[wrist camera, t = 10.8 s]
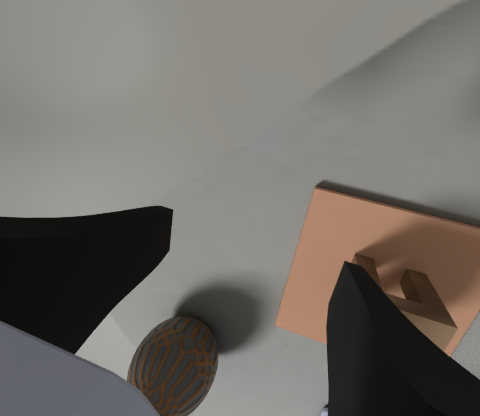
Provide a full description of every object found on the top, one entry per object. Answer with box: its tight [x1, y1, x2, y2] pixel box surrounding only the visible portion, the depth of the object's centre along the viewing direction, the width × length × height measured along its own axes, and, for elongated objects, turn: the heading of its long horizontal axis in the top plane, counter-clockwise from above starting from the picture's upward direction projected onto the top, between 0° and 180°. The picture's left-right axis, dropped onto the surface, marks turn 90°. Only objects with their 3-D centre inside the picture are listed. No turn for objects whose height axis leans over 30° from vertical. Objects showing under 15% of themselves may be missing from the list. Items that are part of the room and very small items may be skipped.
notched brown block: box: [351, 254, 458, 351], centre depth 17 cm, size 4×4×5 cm
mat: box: [275, 186, 480, 356], centre depth 20 cm, size 12×12×1 cm
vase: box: [127, 316, 218, 416], centre depth 23 cm, size 7×7×9 cm
